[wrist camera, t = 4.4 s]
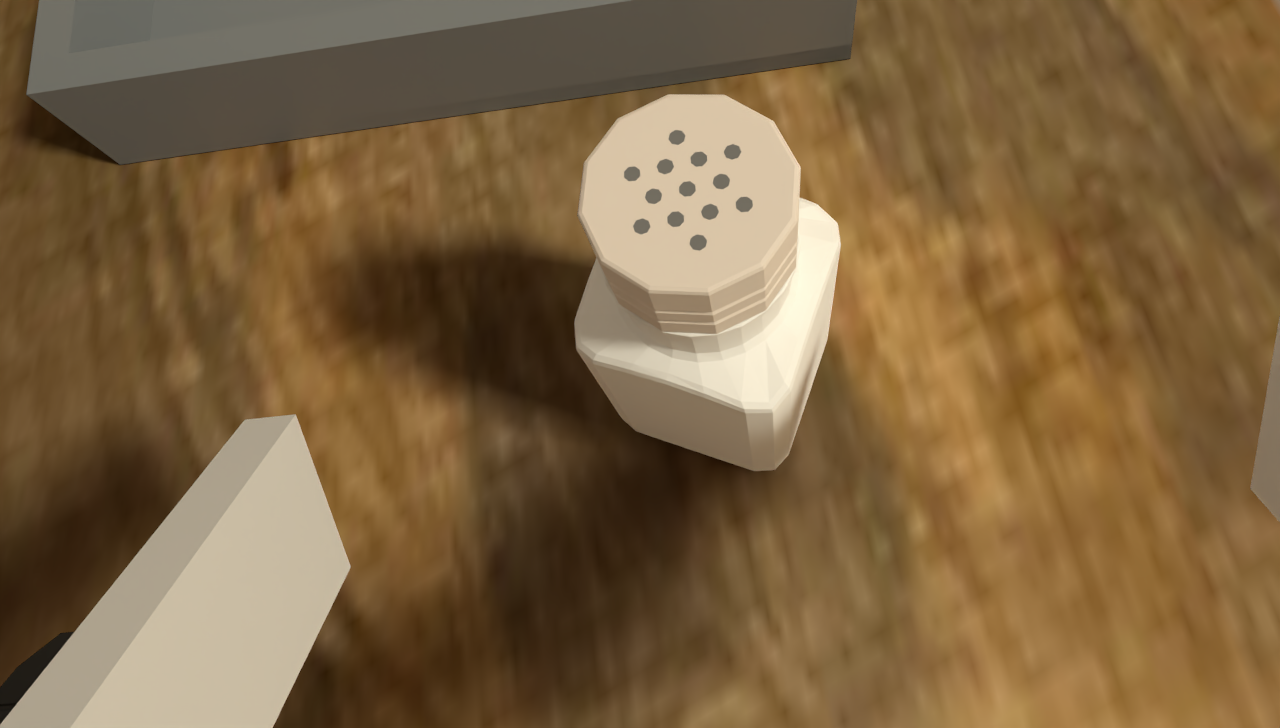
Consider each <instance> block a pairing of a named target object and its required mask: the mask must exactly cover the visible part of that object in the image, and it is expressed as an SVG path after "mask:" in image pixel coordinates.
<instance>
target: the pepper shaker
mask: <svg viewBox="0 0 1280 728" xmlns="http://www.w3.org/2000/svg"><path fill="white" fill-rule="evenodd" d="M800 170H801V167H800V165H799V164H798V162H797V160H796V159H795V157H794V155H793V153H792V152H791V150H790V148H789V147H788V145H787V143H786V142H785V140H784V138H783V136H782V135H781V133H780V131H779V130H778V128H777V126H776V125H775V123H774V121H772V120H770V119H769V118H767V117H765V116H763V115H761V114H759V113H757V112H755V111H754V110H752V109H750V108H748V107H746V106H744V105H742V104H741V103H739V102H737V101H735V100H733V99H731V98H729V97H727V96H726V95H675V94H668V95H666V96H664V97H662V98H660V99H658V100H656V101H654V102H651V103H649V104H647V105H645V106H643V107H641V108H639V109H637V110H635V111H633V112H631V113H629V114H626V115H624V116H622V117H620V118H618V119H617V120H616V122H615V123H614V124H613V125H612V127H611V128H610V129H609V131H608V132H607V133H606V135H605V136H604V137H603V139H602V140H601V141H600V143H599V144H598V145H597V147H596V148H595V149H594V150H593V152H592V153H591V154H590V156H589V157H588V158H587V160H586V161H585V162H584V166H583V174H582V182H581V190H580V199H579V207H578V215H577V216H578V218H579V220H580V222H581V225H582V227H583V229H584V231H585V233H586V235H587V237H588V240H589V242H590V244H591V246H592V248H593V251H594V253H595V255H596V257H597V258H596V260H595V263H594V266H593V268H592V271H591V273H590V276H589V279H588V281H587V284H586V287H585V290H584V293H583V296H582V299H581V302H580V305H579V308H578V311H577V314H576V317H575V322H574V326H575V340H576V350H577V352H578V353H579V355H580V356H581V358H582V359H583V361H584V362H585V364H586V365H587V367H588V368H589V370H590V371H591V373H592V374H593V376H594V377H595V379H596V381H597V382H598V384H599V385H600V387H601V388H602V390H603V391H604V393H605V394H606V396H607V397H608V399H609V400H610V402H611V403H612V405H613V406H614V408H615V409H616V411H617V412H618V414H619V415H620V417H621V418H622V419H623V420H624V421H625V422H626V423H627V424H628V425H629V426H631V427H632V428H633V429H634V430H635V431H636V432H639V433H642V434H645V435H648V436H651V437H654V438H657V439H660V440H663V441H666V442H669V443H672V444H675V445H678V446H681V447H684V448H687V449H690V450H693V451H696V452H699V453H702V454H704V455H707V456H710V457H713V458H716V459H719V460H722V461H725V462H728V463H731V464H734V465H737V466H740V467H743V468H746V469H749V470H752V471H765V470H775V469H776V468H777V467H778V466H779V465H780V464H781V463H782V462H783V460H784V459H785V458H786V457H787V456H788V455H789V452H790V449H791V446H792V443H793V440H794V437H795V434H796V431H797V428H798V425H799V422H800V419H801V416H802V413H803V411H804V408H805V405H806V402H807V399H808V396H809V393H810V390H811V387H812V384H813V381H814V378H815V375H816V372H817V369H818V366H819V363H820V360H821V357H822V354H823V351H824V348H825V345H826V342H827V338H828V331H829V324H830V317H831V310H832V303H833V296H834V289H835V282H836V275H837V268H838V261H839V254H840V247H841V243H840V236H839V229H838V224H837V222H836V221H835V220H834V219H833V218H831V217H830V216H829V215H828V214H827V213H826V212H825V211H824V210H823V209H822V208H821V207H820V206H818V205H817V204H816V203H813V202H810V201H807V200H805V199H802V198H799V195H800Z"/></svg>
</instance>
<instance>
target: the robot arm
mask: <svg viewBox="0 0 1280 728" xmlns="http://www.w3.org/2000/svg"><path fill="white" fill-rule="evenodd" d="M1250 489H1251V490H1252V491H1253V492H1254V493H1255V495H1256V496H1257V497H1258V498H1259V499H1260V500H1261V501H1262V502H1263V504H1264V505H1265V506H1266V507H1267V508H1268V509H1269V510H1270V512H1271V513H1272V514H1273V515H1274V516H1275V517H1276V518H1277V520H1278V521H1279V522H1280V317H1279V323H1278V329H1277V335H1276V341H1275V347H1274V353H1273V359H1272V364H1271V370H1270V376H1269V382H1268V388H1267V394H1266V400H1265V406H1264V411H1263V417H1262V423H1261V429H1260V435H1259V441H1258V447H1257V453H1256V458H1255V464H1254V470H1253V476H1252V482H1251V488H1250ZM350 568H351V566H350V564H349V561H348V558H347V555H346V553H345V550H344V547H343V544H342V541H341V539H340V536H339V533H338V530H337V528H336V525H335V522H334V519H333V517H332V514H331V511H330V508H329V505H328V503H327V500H326V497H325V494H324V492H323V489H322V486H321V483H320V481H319V478H318V475H317V472H316V469H315V467H314V464H313V461H312V458H311V456H310V453H309V450H308V447H307V445H306V442H305V439H304V436H303V433H302V431H301V428H300V425H299V422H298V420H297V417H296V414H295V415H286V416H276V417H267V418H258V419H248V420H244V421H243V423H242V424H241V425H240V426H239V428H238V429H237V430H236V431H235V433H234V434H233V435H232V436H231V438H230V439H229V440H228V441H227V443H226V444H225V445H224V446H223V448H222V449H221V450H220V451H219V453H218V454H217V455H216V456H215V458H214V459H213V460H212V461H211V463H210V464H209V465H208V466H207V468H206V469H205V470H204V471H203V473H202V474H201V475H200V476H199V478H198V479H197V480H196V481H195V482H194V484H193V485H192V486H191V487H190V489H189V490H188V491H187V492H186V494H185V495H184V496H183V497H182V499H181V500H180V501H179V502H178V504H177V505H176V506H175V507H174V509H173V510H172V511H171V512H170V514H169V515H168V516H167V517H166V519H165V520H164V521H163V522H162V524H161V525H160V526H159V527H158V529H157V530H156V531H155V532H154V534H153V535H152V536H151V537H150V539H149V540H148V541H147V542H146V544H145V545H144V546H143V547H142V549H141V550H140V551H139V552H138V554H137V555H136V556H135V557H134V558H133V560H132V561H131V562H130V563H129V565H128V566H127V567H126V568H125V570H124V571H123V572H122V573H121V575H120V576H119V577H118V578H117V580H116V581H115V582H114V583H113V585H112V586H111V587H110V588H109V590H108V591H107V592H106V593H105V595H104V596H103V597H102V598H101V600H100V601H99V602H98V603H97V605H96V606H95V607H94V608H93V610H92V611H91V612H90V613H89V615H88V616H87V617H86V618H85V620H84V621H83V622H82V623H81V625H80V626H79V627H78V628H77V630H76V631H75V632H68V633H60V634H59V635H58V636H57V637H55V638H54V639H53V640H52V641H50V642H49V643H48V644H46V645H45V646H44V647H43V648H41V649H40V650H39V651H37V652H36V653H35V654H34V655H32V656H31V657H30V658H28V659H27V660H26V661H25V662H23V663H22V664H21V665H19V666H18V667H17V668H16V669H15V671H14V672H13V673H12V674H11V675H10V677H9V678H8V679H7V680H6V681H5V682H4V684H3V685H2V686H1V687H0V728H273V726H274V724H275V722H276V720H277V718H278V716H279V714H280V711H281V709H282V707H283V705H284V703H285V701H286V699H287V697H288V695H289V693H290V691H291V689H292V687H293V685H294V683H295V681H296V679H297V677H298V674H299V672H300V670H301V668H302V666H303V664H304V662H305V660H306V658H307V656H308V654H309V652H310V650H311V648H312V646H313V644H314V642H315V640H316V637H317V635H318V633H319V631H320V629H321V627H322V625H323V623H324V621H325V619H326V617H327V615H328V613H329V611H330V609H331V607H332V605H333V603H334V600H335V598H336V596H337V594H338V592H339V590H340V588H341V586H342V584H343V582H344V580H345V578H346V576H347V574H348V572H349V570H350Z"/></svg>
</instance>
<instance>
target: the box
mask: <svg viewBox="0 0 1280 728" xmlns="http://www.w3.org/2000/svg"><path fill="white" fill-rule="evenodd" d="M856 4H857V0H39V6H38V13H37V20H36V28H35V35H34V42H33V50H32V57H31V64H30V72H29V79H28V86H27V94H26V95H27V96H29V97H30V98H31V99H33V100H34V101H35V102H37V103H38V104H39V105H41V106H42V107H43V108H45V109H46V110H48V111H49V112H50V113H52V114H53V115H54V116H56V117H57V118H58V119H60V120H61V121H62V122H64V123H65V124H66V125H68V126H69V127H70V128H72V129H73V130H74V131H76V132H77V133H78V134H80V135H81V136H82V137H84V138H85V139H86V140H88V141H89V142H90V143H92V144H93V145H94V146H96V147H97V148H98V149H100V150H101V151H102V152H104V153H105V154H106V155H108V156H109V157H110V158H112V159H113V160H114V161H116V162H117V163H118V164H120V165H121V164H128V163H135V162H142V161H149V160H156V159H163V158H170V157H176V156H183V155H190V154H197V153H204V152H211V151H218V150H225V149H232V148H238V147H245V146H252V145H259V144H266V143H273V142H280V141H287V140H293V139H300V138H307V137H314V136H321V135H328V134H335V133H342V132H348V131H355V130H362V129H369V128H376V127H383V126H390V125H397V124H404V123H410V122H417V121H424V120H431V119H438V118H445V117H452V116H459V115H465V114H472V113H479V112H486V111H493V110H500V109H507V108H514V107H521V106H527V105H534V104H541V103H548V102H555V101H562V100H569V99H576V98H582V97H589V96H596V95H603V94H610V93H617V92H624V91H631V90H638V89H644V88H651V87H658V86H665V85H672V84H679V83H686V82H693V81H699V80H706V79H713V78H720V77H727V76H734V75H741V74H748V73H754V72H761V71H768V70H775V69H782V68H789V67H796V66H803V65H810V64H816V63H823V62H830V61H837V60H844V59H850V56H851V47H852V39H853V30H854V21H855V12H856Z"/></svg>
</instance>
